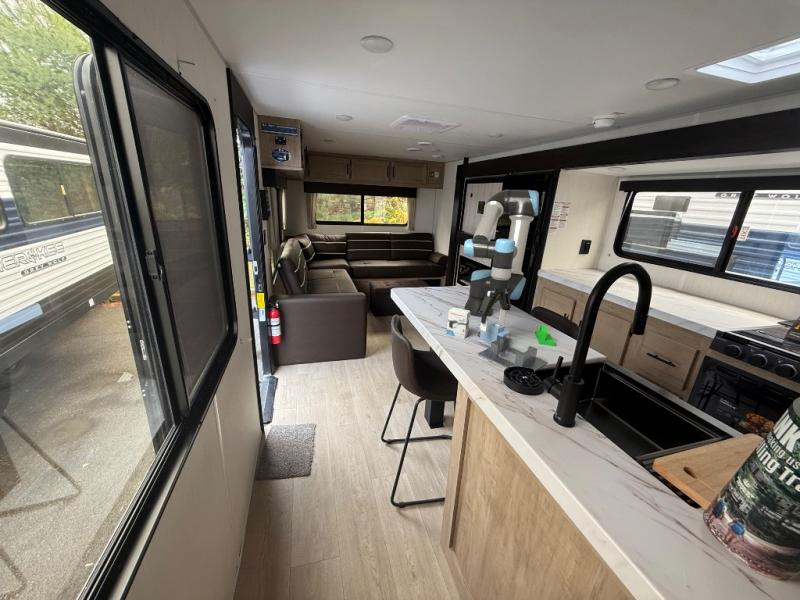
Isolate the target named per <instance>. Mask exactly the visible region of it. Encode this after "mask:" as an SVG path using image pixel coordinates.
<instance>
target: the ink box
mask: <svg viewBox="0 0 800 600" xmlns="http://www.w3.org/2000/svg"><path fill="white" fill-rule="evenodd" d="M470 316H471V315H470V311H469V310H464V308H463V309H462V308H459V307H455V306H454V307H451V308H450V309H449V310H448V316H447V322H446V323H447V326H446V332H445V334H446V335H449V336H452V337H456V338H460V339H464V340H465V339H466V337H467V336H468V334H469V333H468V332H469V325H470Z"/></svg>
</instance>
